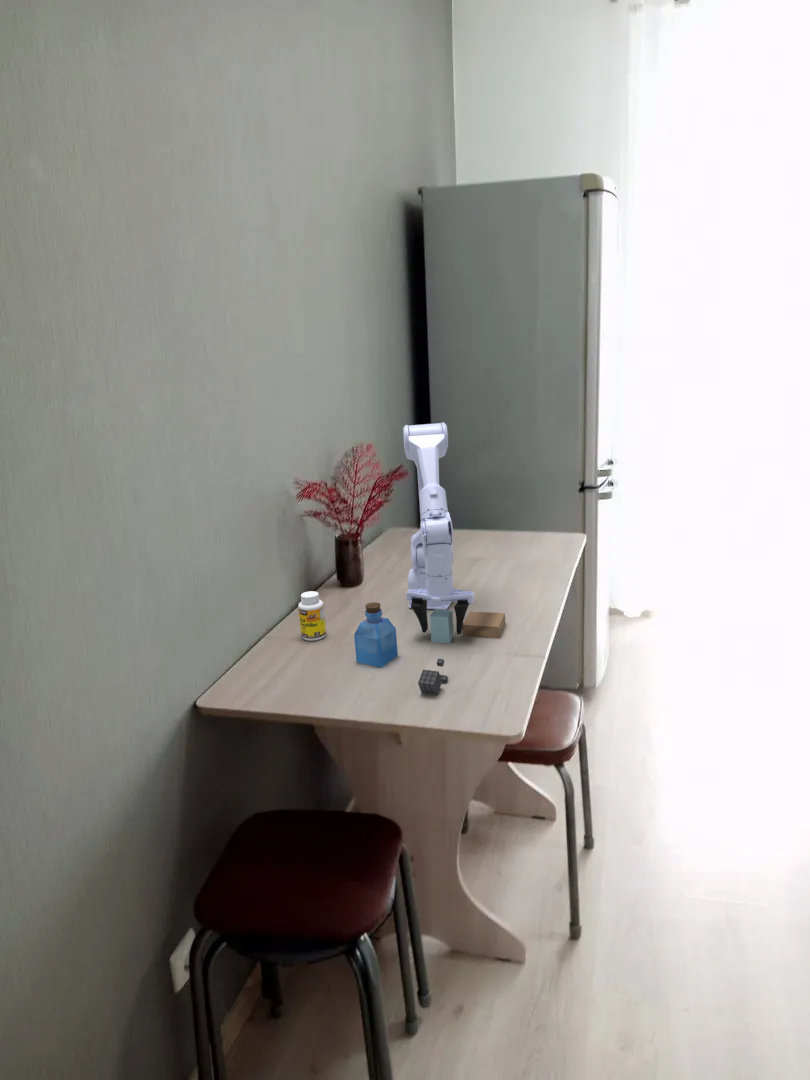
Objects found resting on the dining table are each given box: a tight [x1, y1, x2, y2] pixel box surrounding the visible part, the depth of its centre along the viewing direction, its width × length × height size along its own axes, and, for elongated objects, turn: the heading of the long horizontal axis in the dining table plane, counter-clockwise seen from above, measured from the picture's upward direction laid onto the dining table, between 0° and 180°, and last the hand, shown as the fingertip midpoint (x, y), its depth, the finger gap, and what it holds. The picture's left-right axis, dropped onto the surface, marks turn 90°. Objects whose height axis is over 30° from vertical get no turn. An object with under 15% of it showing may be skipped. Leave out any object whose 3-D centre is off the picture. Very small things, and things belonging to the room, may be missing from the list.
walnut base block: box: [461, 610, 506, 639], centre depth 180 cm, size 8×8×3 cm
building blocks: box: [417, 658, 449, 696], centre depth 156 cm, size 3×6×8 cm
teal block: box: [429, 609, 455, 644], centre depth 176 cm, size 4×4×6 cm
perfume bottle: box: [353, 601, 399, 669], centre depth 168 cm, size 6×6×12 cm
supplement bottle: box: [297, 590, 327, 642], centre depth 181 cm, size 6×6×10 cm
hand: (442, 631), depth 177 cm, fingers open, 7 cm apart
